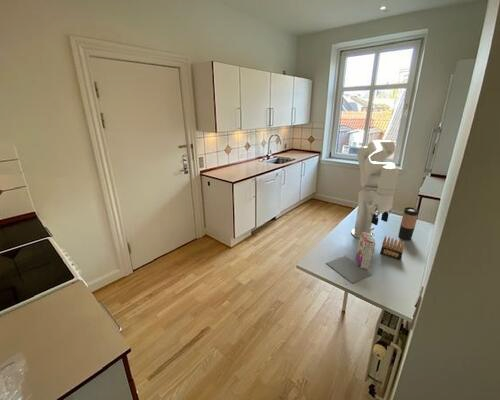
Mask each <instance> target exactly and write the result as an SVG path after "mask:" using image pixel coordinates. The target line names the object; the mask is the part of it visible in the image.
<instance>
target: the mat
mask: <svg viewBox="0 0 500 400" xmlns="http://www.w3.org/2000/svg"><path fill="white" fill-rule="evenodd" d="M326 265H327V266H329V267H330V268H331V269H333V270H334V271H335V272H337V273H338V274H339V275H341V277H343V278H345V279H346V280H347V281H348V282H349V283H351V285H352V284H355V283H357V282H359V281H362V280H364V279H367V278H368V277H371V276H373V273H372V272H370V271H369V270H368V269H362V268H360V267H359V264H358V262H355V261H354V260H352V259H351V258H349V257H348V256H346V255H343V256H342V257H338V258H335V259H332V260H331V261H328V262H326Z"/></svg>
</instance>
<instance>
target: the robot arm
mask: <svg viewBox="0 0 500 400" xmlns="http://www.w3.org/2000/svg"><path fill="white" fill-rule="evenodd" d="M395 150H396V145H395V142H394V141H392V140H390V139H389V140H388V139H375V140H371V141H370V142H368V144H367V145H364V146H361V147H359V148H358V149H357V152H356V153H357V154H356V157H357V158H356V159H357V162H358V166H359V168H360V186H361V187H362V188H363V189H362V190H360V191H359V192H358V196H357V197H358V199H357V200H358V205H357V206H358V207H357V211H356V219H355V225H354V228H353V229H352V230H351V234H352V236H353V237H355V238H358V239H360V235H361V232H366V233H370V234H371V236H372V237H373V233H372V231H374V230H375V229H376V228H375V227H374V226H377V225H378V223H379V217H380V214H381V217H380V220H381V221H383V222H385V223H387V222H388V221H389V220H388V219H389V215H390V212H391V211H392V209H393V207H394V205H393V204H394V195H395V189H396V186H397V181H398V177H399V172H400V169H399V167H398V165H397V164H396V163H395V162H385V161H386V160H387V159H388V158H389V157H391V156H392V155H393V154H394V152H395ZM372 224H373V225H374V226H372Z"/></svg>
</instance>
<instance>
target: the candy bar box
mask: <svg viewBox="0 0 500 400" xmlns="http://www.w3.org/2000/svg"><path fill="white" fill-rule="evenodd" d="M375 246H376V241H375V239H374V237H373V235H372V236H371V234H370V233H366V232H361V235H360V238H358V245H357V249H356V254H355V259H356V261H357V262H356V263H357V264H358V265H359V267H360V268H362V269H366V270H370V267H371V263H372V257H373V254H374V252H375V251H374V250H375Z"/></svg>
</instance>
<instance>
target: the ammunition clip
mask: <svg viewBox="0 0 500 400" xmlns="http://www.w3.org/2000/svg"><path fill="white" fill-rule="evenodd" d="M394 239H395V240H394ZM390 240H391V241H390ZM401 240H402V239H399V240H398V239H397V238H394V237H392V238H391V237H390V236H389V237H388V238H387V235H386V236H384V237H383V241H382V244H381V249H380V251H379V252H380V253H379V255H382V256H385V257H388V258H391V259H394V260H398V261H402V257H403V253H404V248H405V240H403V241H402V242H401Z"/></svg>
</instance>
